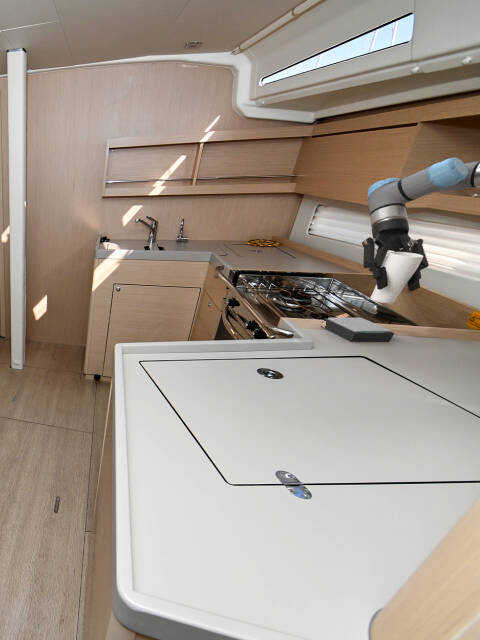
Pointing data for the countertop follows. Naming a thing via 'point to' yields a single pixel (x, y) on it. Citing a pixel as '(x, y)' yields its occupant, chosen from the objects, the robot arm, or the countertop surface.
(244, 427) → the countertop surface
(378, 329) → the kitchen scale
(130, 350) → the countertop surface
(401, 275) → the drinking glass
